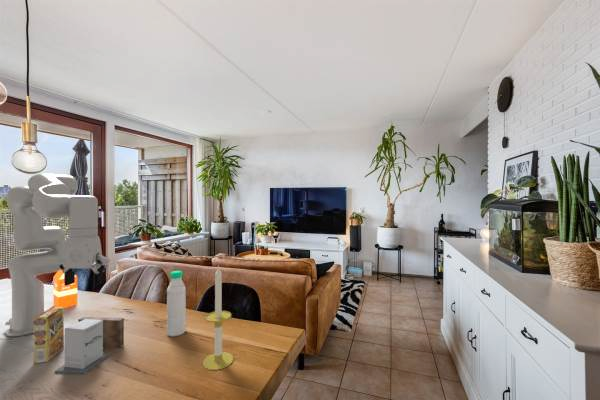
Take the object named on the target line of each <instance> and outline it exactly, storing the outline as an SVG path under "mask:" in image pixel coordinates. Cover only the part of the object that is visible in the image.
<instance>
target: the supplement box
mask: <svg viewBox="0 0 600 400" xmlns="http://www.w3.org/2000/svg"><path fill="white" fill-rule="evenodd" d="M103 350H104V347H103V320H95V319H84V320H82V321H80V322H75V323H74V324H73V323H72V324H71V325H69V326H67V327H64V358H63V359H64V360H63V362H64V364H63V365H64V367H70V368H78V369H84V368H85V367H86V366H88V365H90V364H91V363H93V362H94V361H96V360H97V359H99V358H101V357H102V356H103V354H104V353H103Z"/></svg>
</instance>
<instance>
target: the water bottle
mask: <svg viewBox="0 0 600 400" xmlns="http://www.w3.org/2000/svg"><path fill="white" fill-rule="evenodd" d="M183 274H184V273H183V270H174V271H171V272H170V273H169V279H170V282H169V285H168V287H167V288H166V294H167V296H166V314H167V317H166V324H167V325H166V326H167V327H166V334H167V336H169V337H178V336H181V335H183V334H185V332H186V330H187V325H186V324H187V323H186V318H187V317H186V311H187V310H186V309H187V307H186V306H187V300H186V298H187V297H186V291H187V289H186V288H187V287H186V286H185V284H184V281H183V280H182V278H183Z"/></svg>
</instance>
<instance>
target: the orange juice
mask: <svg viewBox="0 0 600 400" xmlns="http://www.w3.org/2000/svg"><path fill="white" fill-rule="evenodd" d="M64 274H65V273H62V270H60V271H57V272H55V274H54V276H53V277H52V278H53V289H52V290H53V291H52V293H53V294H52V295H53V306H54V307H63V309H65V308H70V307H74V306H77V305H78V275H76V274H75V283H73V284H70V285H67V286H65V285H64ZM73 305H74V306H73ZM69 306H70V307H69Z"/></svg>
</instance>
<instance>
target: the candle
mask: <svg viewBox="0 0 600 400" xmlns="http://www.w3.org/2000/svg"><path fill="white" fill-rule="evenodd" d="M222 273H223V272H222V271H221V269H220V266H219V264H218V265H217V268H216V271H215V273H214V277H215V278H214V280H215V281H214V282H215V283H214V296H215V298H214V311H211V312H209V313H207V314H206V315H205V316H204V320H205V321H206V322H208V323H214V353H212V354H209V355H207V356H206V357H205V358H204V359H203V361H202V367H203V366H204V367H203V368H204V369H205V368H206V369H205V370H208V371H214V370H216V371H220V370H219V369H222V370H224V369H226V368H228V367H229V366H231V365H232V364H233V362H234V356H233V355H232V354H231V353H230V352H225V351H223V322H225V321H227V320H230V318H231V317H232V313H231V312H230V311H227V310H222V309H223V308H222V305H223V304H222V303H223V302H222V301H223V300H222V297H223V296H222V295H223V294H222V293H223V292H222V290H223V289H222V286H223V285H222V284H223V283H222V281H223V280H222V276H223V275H222ZM231 363H232V364H231ZM230 364H231V365H230ZM227 366H228V367H227ZM225 367H226V368H225ZM223 368H224V369H223Z"/></svg>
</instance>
